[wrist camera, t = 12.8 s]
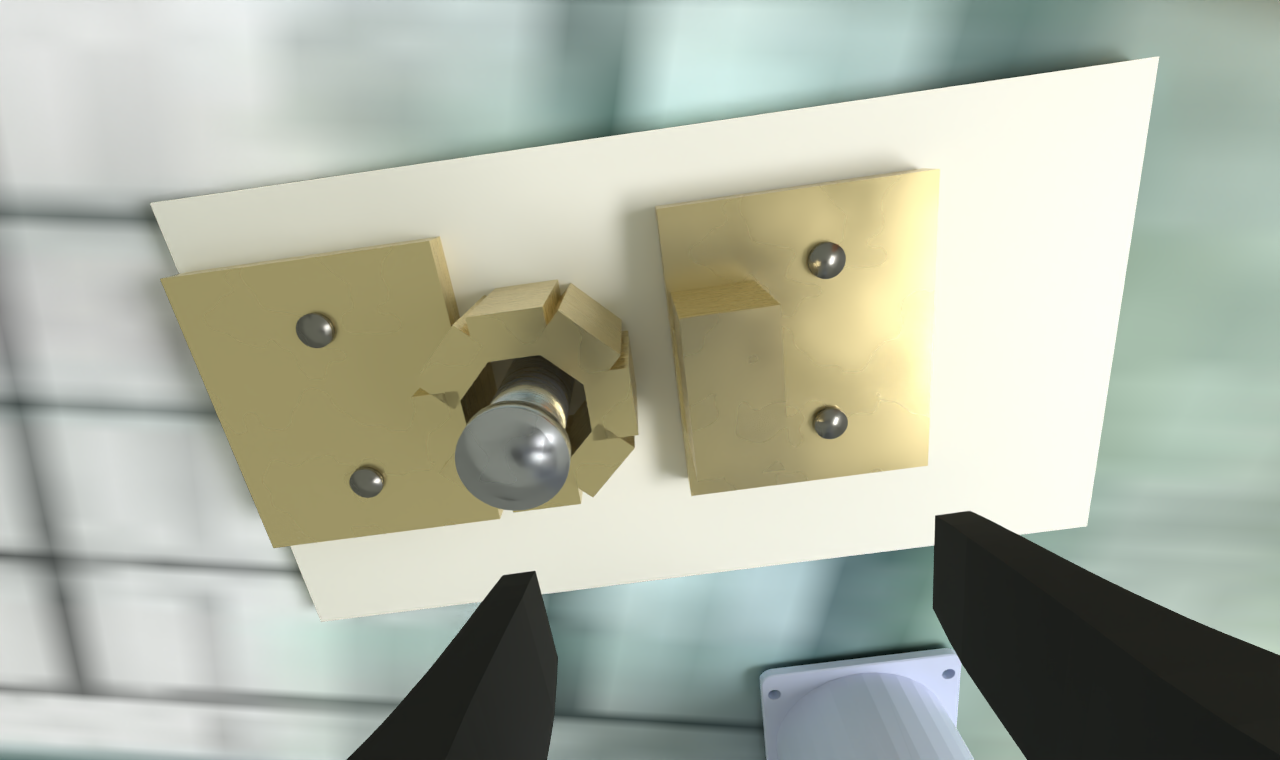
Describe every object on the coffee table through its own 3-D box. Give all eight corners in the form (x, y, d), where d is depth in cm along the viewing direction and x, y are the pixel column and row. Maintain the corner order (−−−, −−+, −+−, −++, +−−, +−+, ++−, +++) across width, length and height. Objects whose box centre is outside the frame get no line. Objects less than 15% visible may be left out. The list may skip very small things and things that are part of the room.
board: (1071, 513, 22) (1086, 526, 21) (330, 606, 23) (321, 621, 22) (1135, 61, 17) (1159, 56, 16) (170, 201, 17) (149, 203, 17)
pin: (587, 404, 19) (574, 506, 13) (510, 410, 19) (464, 514, 13) (579, 329, 18) (562, 404, 13) (498, 335, 18) (445, 413, 13)
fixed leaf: (650, 483, 20) (655, 546, 17) (289, 530, 20) (225, 600, 17) (610, 212, 17) (607, 224, 14) (184, 272, 17) (82, 299, 14)
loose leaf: (913, 451, 20) (980, 519, 16) (688, 480, 20) (702, 554, 16) (922, 168, 17) (1008, 170, 13) (655, 206, 17) (662, 219, 13)
